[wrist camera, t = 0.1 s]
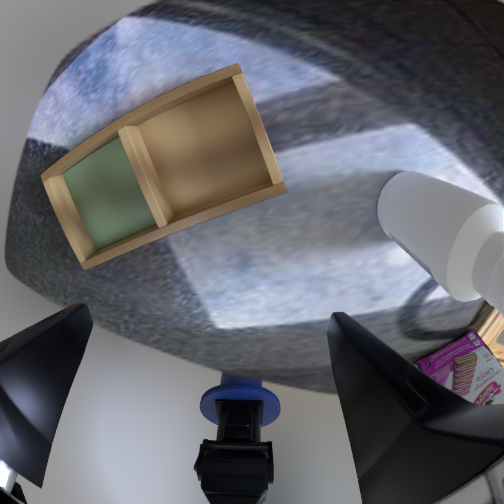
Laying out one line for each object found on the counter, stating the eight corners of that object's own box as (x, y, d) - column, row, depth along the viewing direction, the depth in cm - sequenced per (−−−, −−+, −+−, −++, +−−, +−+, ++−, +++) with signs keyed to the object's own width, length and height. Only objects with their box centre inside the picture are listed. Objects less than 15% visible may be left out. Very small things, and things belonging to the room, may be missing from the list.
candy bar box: (473, 325, 29) (529, 402, 14) (470, 346, 31) (517, 419, 16) (412, 360, 31) (458, 454, 16) (413, 379, 33) (450, 465, 18)
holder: (283, 185, 22) (287, 192, 19) (97, 257, 25) (84, 270, 22) (240, 71, 18) (238, 62, 15) (57, 169, 21) (39, 175, 18)
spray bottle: (389, 252, 24) (502, 393, 8) (363, 190, 22) (524, 311, 5) (440, 219, 23) (570, 320, 6) (421, 157, 20) (590, 224, 4)
